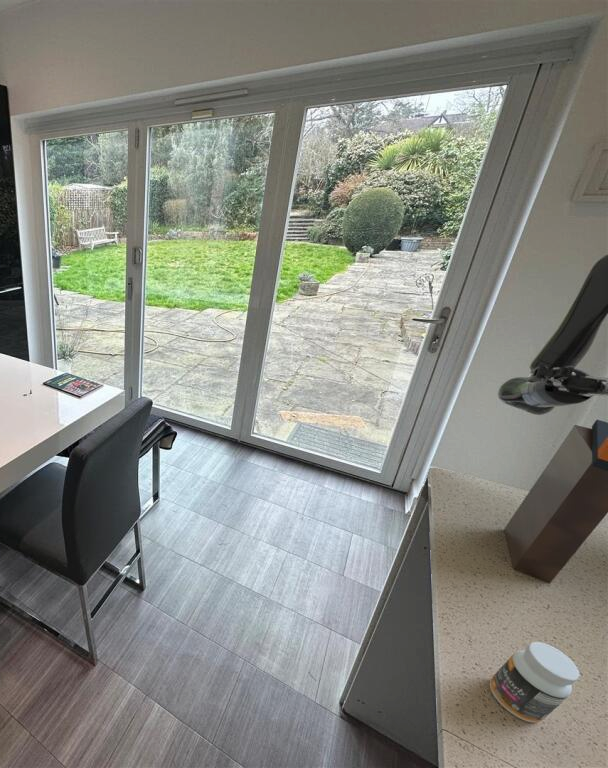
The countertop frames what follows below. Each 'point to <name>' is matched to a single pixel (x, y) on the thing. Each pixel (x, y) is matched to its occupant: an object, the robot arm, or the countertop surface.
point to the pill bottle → (534, 681)
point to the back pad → (600, 445)
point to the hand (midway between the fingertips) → (603, 377)
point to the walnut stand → (559, 509)
